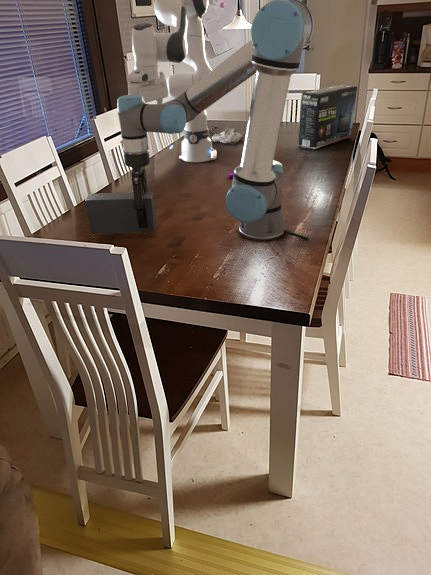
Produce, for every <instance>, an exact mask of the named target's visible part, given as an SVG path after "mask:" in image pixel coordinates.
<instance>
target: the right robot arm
mask: <svg viewBox="0 0 431 575" xmlns="http://www.w3.org/2000/svg"><path fill="white" fill-rule="evenodd" d="M314 26H315V22H314V17H313V14H312V11H311V10H310V8H309V7H308V6H307V5H306V4H305V3H304V2H303V1H300V0H270V1H268V3H265V5H263V6H262V7H260V9H259V10H258V11H257V12H256V14H255V16H254V18H253V20H252V23H251V27H250V40H249V41H248V42H246V43H245V44H244V45H242V46H241V47H240V48H239V49H237V50H236V51H235V52H233V53H232V54H231V55H230V56H228V57H227V58H226V59H224V60H223V61H222V62H221V63H219V64H218V65H217V66H216V67H214V68H212V71H210V72H209V73H208V74H207V75H205V76H204V77H203V78H201V79H200V80H199V81H198V82H196V83H195V84H194V85H192V86H191V87H190V88H189V89H187V90H186V91H185V92H183V93H182V94H181V95H179V96H178V97H177V98H175V99H170V100H168V101H166V102H162V104H157V103H144V99H143V97H142V96H141V95H129V94H126V95H121V96H119V97H118V98H117V100H116V101H117V115H118V121H119V128H120V134H121V140H120V141H119V143H120V144H121V145H122V150H123V152H124V153H123V158H124V165H125V166H126V167H127V168H128V167H129V168H132V170H131V183H132V184H131V185H132V190H133V192H134V200H135V207H134V209H137V216H138V224H139V228H148V224H147V216H146V208H145V204H144V192H149V190H148V183H147V169H146V167H147V166H148V165H150V163H151V157H150V151H149V147H150V146H149V137H148V133H158V134H169V135H172V134H181V133H183V132H184V128H185V126H186V123H187V122H190V121H192V120H193V119H194V118H195V117H196V116H197V115H199V114H200V113H201V112H202V111H204V110H205V111H206V109H208V108H209V107H211V106H212V105H214V104H215V103H217V102H218V101H219V100H220V99H222V98H223V97H225V96H226V95H228V94H229V93H230V92H232V91H233V90H234V89H236V88H237V87H239V86H240V85H241V84H243V83H244V82H246V81H247V80H248V79H250V78H251V77H252V76H254V75H255V76H254V82H253V87H252V95H251V100H250V106H249V112H248V119H247V123H246V124H247V125H246V130H245V137H244V142H243V149H242V155H241V161H240V164H238V165H237V166H236V167H235V168H234V171H233V173H234V176H233V178H232V182H231V187H230V188H229V189H228V191H227V193H226V196H225V201H224V202H225V208H226V210H227V212H228V213H229V214H230V215H231V217H232V218H233V219H235V220H236V221H238V222H239V226H238V232H239V235H240V236H241V237H242V238H244V239H247V240H250V241H254V242H271V241H277V240H279V239H281V238H283V237H285V235H289V236H293V237H296V238H298V239H302V240H305V241H308V240H309V237H308V236H305V235H301V234H299V233H296V232H293V231H289V230H287V223H286V221H285V216H284V214H283V210H282V200H283V181H284V180H283V179H284V168H283V167H284V166H283V164H282V163H281V162H279V161H276V160H275V155H276V150H277V146H278V142H279V135H280V131H281V125H282V121H283V116H284V112H285V106H286V101H287V97H288V91H289V87H290V81H291V76H292V75H293V74H295V73H297V71H298V70H299V69H300V65H301V60H302V56H303V50H304V48H305V47H306V46H307V45H308V43H309V42H310V40H311V38H312V36H313V33H314V29H315V28H314Z"/></svg>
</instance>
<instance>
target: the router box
mask: <svg viewBox="0 0 431 575" xmlns="http://www.w3.org/2000/svg"><path fill="white" fill-rule="evenodd" d="M357 93H358V86H356V85H350V84H339V85H338V84H337V85H334V86H328V87H324V88H318V89H314V90H309V91H304V92H301V93H300V109H299V110H300V111H299V124H298V137H297V146H298V145H302V146H307V147H317V146H320V145H323V144H325V143H328V142H331V141H333V140H336V139H338V138H341V137H344V136H347V135H351V136H352V133H353V132H352V131H353V125H354V115H355V109H356V99H357ZM311 151H313V150H312V149H311Z"/></svg>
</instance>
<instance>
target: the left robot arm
mask: <svg viewBox="0 0 431 575" xmlns="http://www.w3.org/2000/svg"><path fill="white" fill-rule="evenodd" d="M208 8H209V0H154V4H153V10H154V15H155V16H156V18H157V19H158V20H159V22H161V23H162V24H163V25H165V26H168V27H174V28H175V29H174V31H172V32H160V33H159V32H155V27H154V25H153V24H152V23H149V22H148V23H147V22H144V23H138V24H135V25H133V27H132V28H131V47H132V54H133V56H134V69H133V70H132V71H131V72H130V73H128V74H127V75H126V81H127V82H128V84H127V93H128V94H127V95H141V96H142V97H143V99H144V103H145V104H148V103H150V102H154V101H156V104H163V103H164V99H165V98H166V99H167V98H168V97H169V98H171V100H173V99H175V98H177V97H178V96H179V95H181V94H182V93H183V92H185V91H186V90H187V89H189V88H190V87H191V86H192V85H194V84H195V83H196V82H198V81H199V80H200V79H201V78H203V77H204V76H205V75H207V74H208V73H209V72H210V71H212V70H213V68H211V67H210V65H209V62H208V61H207V58H206V51H205V49H206V48H205V34H204V25H203V21H202V19H203V18H204V15H205V14H206V12H207V11H208ZM182 62H183V63H185V64H187V65H188V66H191V67H192V68H193V70H194V71H193V72H177V73H174V74H170V75H168V77H167V78H166V75H165V74H164V72H163V71H160V67H159V66H160V64H159V63H176V64H180V63H182ZM214 126H215V125H213V126H212V127H214ZM212 127H211V128H212ZM211 128H210V129H211ZM214 128H215V129H218V127H217V126H216V127H214ZM214 128H212V129H211V130H212V131H213V130H214ZM210 129H209V127H208V115H207V111H206V109H205V110H204V111H202V112H201V113H200V114H199V115H197V116H196V117H195V118H194V119H193V120H192V121H190V122H187V123H186V126H185V128H184V130H183V140H182V141H181V154H180V155H179V157H178V159H180V160H182V161H183V162H187V163H204V162H209V161H215V160H217V154H218V152H217V150H216V149H214V148H213V139H212V138H210V132H211V133H212V134H213V135H215V134H216V133H215V132H214V131H213V132H214V133H215V134H214V133H213V132H212V131H211V130H210ZM211 139H212V140H211ZM173 146H174V145H173V144H172V145H171V146H170V147H169V150H171V149H172V148H173Z"/></svg>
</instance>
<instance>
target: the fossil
mask: <svg viewBox="0 0 431 575" xmlns="http://www.w3.org/2000/svg"><path fill="white" fill-rule="evenodd" d="M242 136H246V133H245V132H244V131H242V130H241V129H235V128H234V127H226V128H225V129H224V130H223V131H222V132H220V133H215V135H214V134H213V135H212V137H211V139H213V140H212V142H214V143H221V142H222V143H221V144H230V145H233V146H234V145H236V143H235V142H237V143H239V142H240V141H241V140H242V139H243V138H242ZM239 140H240V141H239ZM238 141H239V142H238Z"/></svg>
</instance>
